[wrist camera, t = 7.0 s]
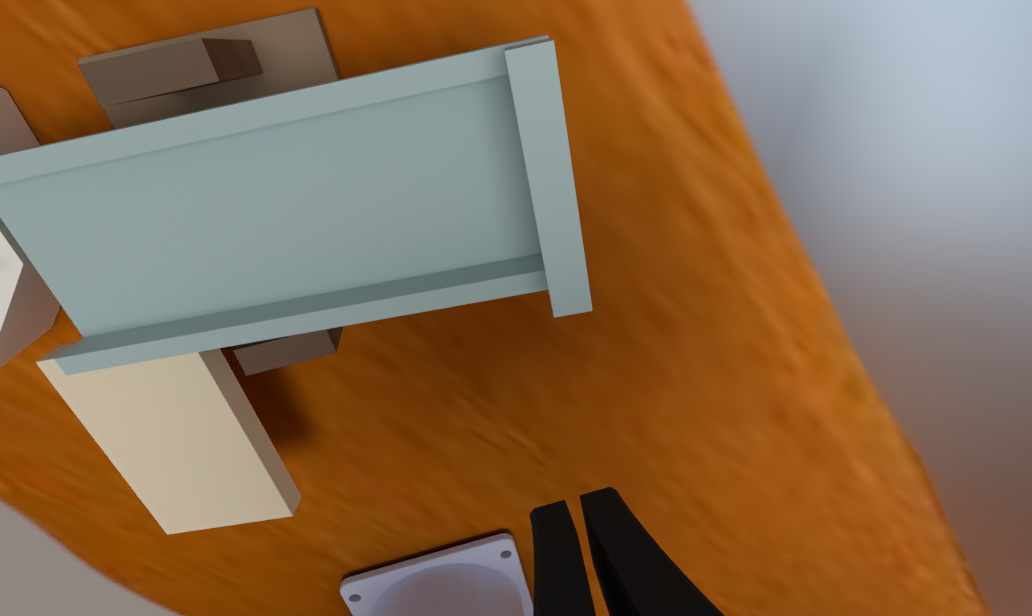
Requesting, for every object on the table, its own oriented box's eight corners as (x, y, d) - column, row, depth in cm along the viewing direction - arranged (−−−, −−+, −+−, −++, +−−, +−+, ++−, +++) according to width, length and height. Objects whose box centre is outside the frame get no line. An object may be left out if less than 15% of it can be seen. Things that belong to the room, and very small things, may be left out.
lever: (605, 451, 17) (625, 537, 14) (180, 514, 18) (119, 605, 15) (542, 33, 11) (553, 37, 8) (-71, 169, 12) (-243, 211, 10)
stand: (408, 285, 18) (406, 348, 14) (233, 330, 18) (185, 405, 14) (318, 9, 14) (282, -5, 10) (89, 58, 14) (-31, 62, 10)
